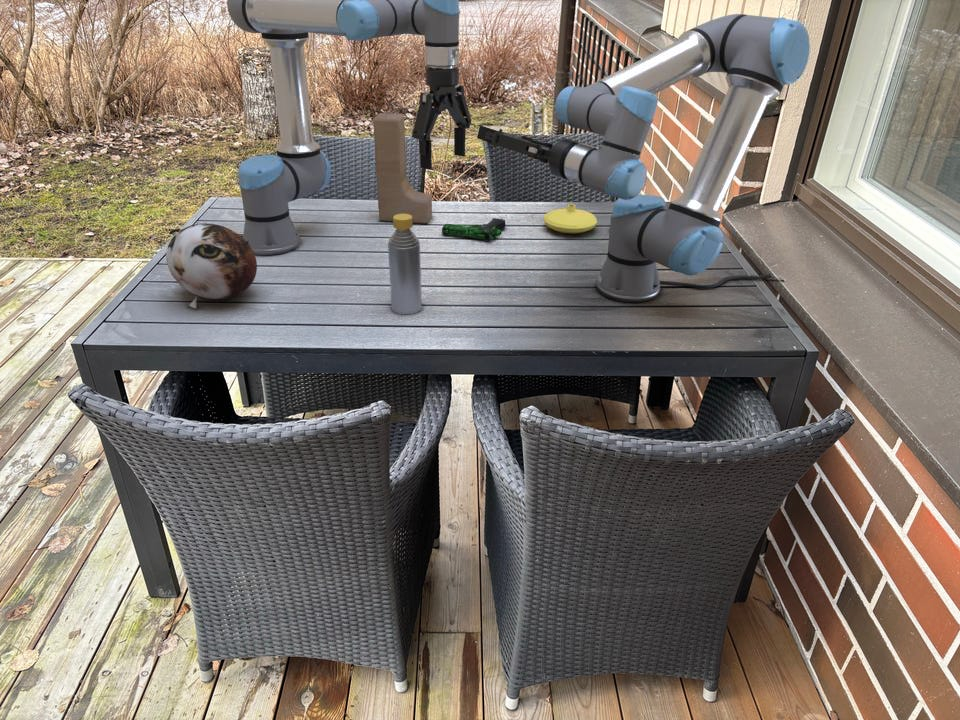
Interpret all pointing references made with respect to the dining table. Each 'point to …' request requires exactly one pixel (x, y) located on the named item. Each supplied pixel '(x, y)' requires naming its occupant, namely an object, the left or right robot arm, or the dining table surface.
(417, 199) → the decorative block
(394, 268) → the bottle
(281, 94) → the left robot arm
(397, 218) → the cap
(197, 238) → the cat face ball
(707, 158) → the right robot arm
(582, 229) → the yellow pot lid
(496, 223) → the handgun
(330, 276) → the dining table surface
